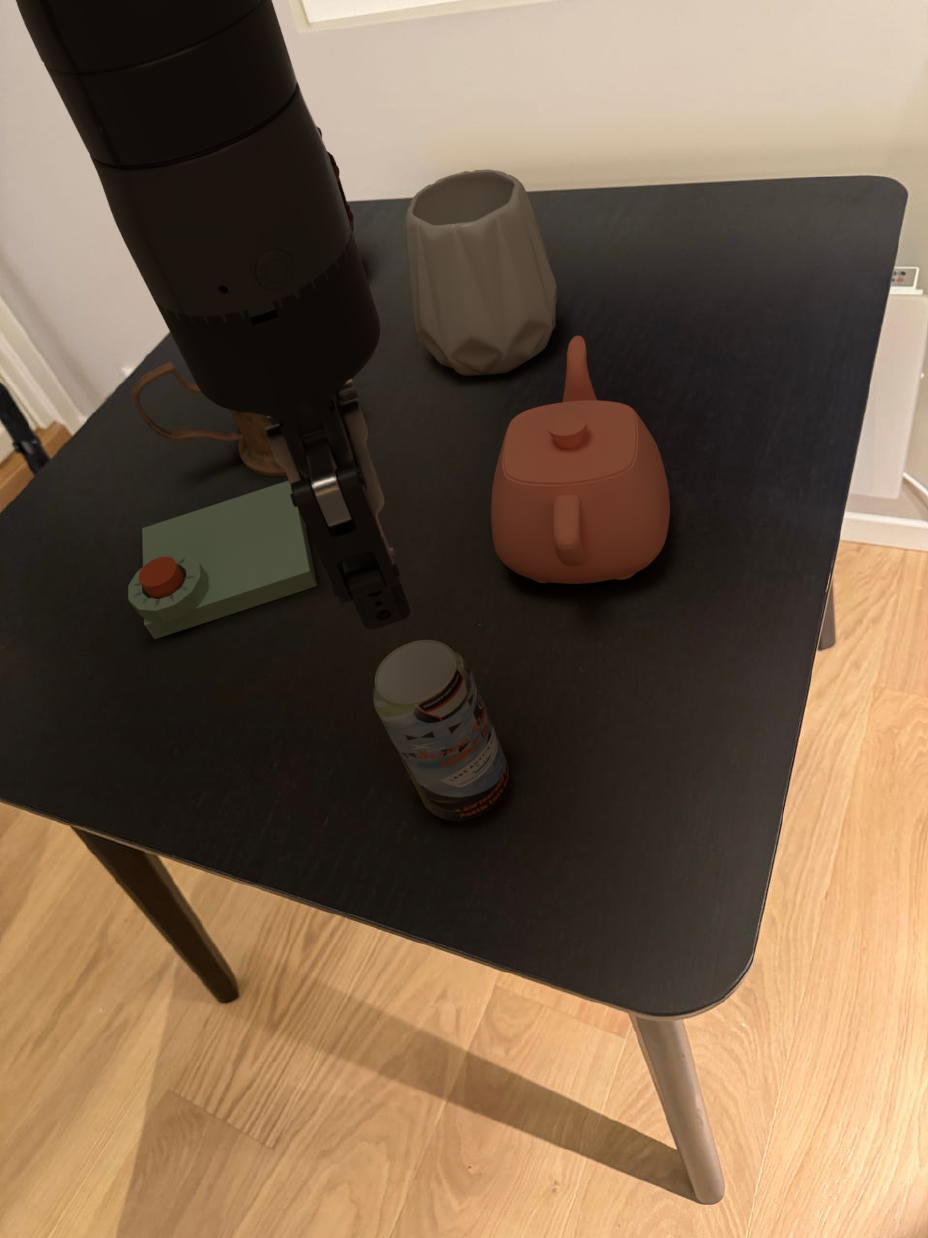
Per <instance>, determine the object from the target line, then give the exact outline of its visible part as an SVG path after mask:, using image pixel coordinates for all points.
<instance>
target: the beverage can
mask: <svg viewBox="0 0 928 1238" xmlns="http://www.w3.org/2000/svg"><path fill="white" fill-rule="evenodd" d="M372 700H373V705H374V708H375V711H376V713H377V715H378V717H379V719H380V721H381V722H382V725H383V727H384V729H385V731H386V732H387V734H388V736H389V738H390V740H391V743H392V745H393V746H394V748H395V750H396V752H397V754H398V756H399V758H400V760H401V762H402V764H403V766H404V768H405V770H406V772H407V774H408V776H409V777H410V779H411V782H412V783H413V786H414V788H415V789H416V792H417V793H418V795H419V797H420V800H421V801H422V803H423V805H424V807H425V808H426V809H427V810H428V811H429V812H430V813H431V814H432V815H434V816H435V817H437V818H439V819H442V820H446V821H453V822H459V821H466V820H467V821H468V820H471V819H474V818H477V817H479V816H481V815H483V814H485V813H487V812H489V811H490V810H491V809H493V808H494V807H495V806H496V805H497V804H498V803H499V802H500V801H501V800H502V798H503V797H504V796H505V793H506V791H507V790H508V787H509V784H510V778H511V774H510V773H511V772H510V766H509V763H508V761H507V758H506V756H505V754H504V751H503V748H502V746H501V743H500V741H499V738H498V736H497V732H496V730H495V728H494V725H493V722H492V720H491V717H490V715H489V713H488V710H487V707H486V704H485V702H484V700H483V697H482V695H481V692H480V690H479V687H478V684H477V682H476V679H475V676H474V675H473V671H472V669H471V666H470V665H469V664H468V662H467V660H466V659H465V658H464V657H463V656H462V655H460V654H459V653H458V652H456V651H454V650H452V648H450V647H449V646H448V645H447V644H445V643H443V642H442V641H438V640H432V639H421V640H416V641H411V642H409V643H406V644H404V645H402V646H399V647H397V648H396V649H394V650H393V651H392V652H390V653H389V654H388V655H387V656H386V657H385V658H384V659H383V660H382V661H381V663H380V664H379V666H378V667H377V669H376V672H375V675H374V688H373V699H372Z"/></svg>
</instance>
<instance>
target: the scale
mask: <svg viewBox="0 0 928 1238" xmlns="http://www.w3.org/2000/svg"><path fill="white" fill-rule="evenodd" d="M291 493H292V490H291V485H290V482H289V479H288V480H286V481H283V482H279V483H276V484H274V485H270V486H267V487H264V488H261V489H257V490H255V491H252V492H249V493H246V494H243V495H239V496H237V497H233V498H230V499H228V500H224V501H222V502H217V503H215V504H212V505H209V506H206V507H203V508H200V509H197V510H194V511H191V512H188V513H184V514H181V515H178V516H175V517H173V518H169V519H165V520H163V521H160V522H157V523H154V524H151V525H148V526H144V527H142V529H141V533H142V535H141V536H142V567H141V568H140V569H138V570H137V571H136V572H135V574H134V576H133V577H132V579H131V580H130V582H129V584H128V587H127V600H128V602H129V603H130V604H131V606H132V608H133V609H134V610H135V612H136V613H137V614H138V615H139V616H141V617H142V619H143V626H144V627H145V628H146V630H147V631H148V632H149V634H150V635H151V637H152V638H153V640H157V639H160V638H162V637H163V638H164V637H166V636H169V635H171V634H175V633H178V632H181V631H184V630H187V629H191V628H193V627H197V626H200V625H203V624H205V623H209V622H212V621H215V620H218V619H221V618H224V617H227V616H231V615H234V614H236V613H239V612H242V611H246V610H248V609H251V608H255V607H256V606H257V607H258V606H261V605H263V604H267V603H270V602H274V601H276V600H279V599H282V598H285V597H288V596H292V595H294V594H297V593H301V592H304V591H306V590H310V589H312V588H315V587H318V582H317V578H316V577H317V576H316V573H315V572H316V571H315V567H314V562H313V557H312V552H311V547H310V542H309V536H308V530H307V527H306V526H305V524H304V521H303V519H302V516H301V514H300V512H299V510H298V507H294V505H293V503H292V500H291V497H290V494H291ZM159 557H170V558H172V559H174V560H175V561H176V563H177V565H178V566H179V568H180V569H181V571H182V572H183V574H184V583H183V585H182V587H181V588H180V589H178V590H177V591H176V592H174V593H173V594H172V595H170V596H167V597H164V598H161V599H156V598H152V597H151V596H149V595H148V593H147V592H146V590H145V589H144V588H143V586H142V585H141V583H140V582H139V573H140V571H141V569H142V568H143V567H144V566H145V565H146V564H147V563H149V562H150V561H152V560H154V559H156V558H159Z"/></svg>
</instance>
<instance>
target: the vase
mask: <svg viewBox="0 0 928 1238" xmlns="http://www.w3.org/2000/svg"><path fill="white" fill-rule="evenodd" d="M404 232H405V245H406V254H407V267H408V278H409V287H410V299H411V307H412V315H413V321H414V327H415V333H416V339H417V340H418V341H419V343H420V345H421V346H422V347H423V348H424V349H425V350H426V351H427V352H428V353H429V354H430V355H431V356H433V357H434V358H435V360H436V361H437V362H438V363H439V364H441V365H442V366H445V367H448V368H451V369H453V371H455V372H456V373H457V374H459V375H461V376H464V377H470V376H471V377H472V376H475V377H476V376H487V375H501V374H507V373H509V372H511V371H513V370H515V369H517V368H518V367H520V366H521V365H522V364H523V365H524V364H525V363H526V362H528V361H529V360H532V359H533V358H534V357H536V356H537V355H538V354H540V353H541V352H542V351H544V350H545V349H546V348H547V345H548V344H549V342H550V340H551V339H550V338H551V336H552V333H553V331H554V329H555V328H556V314H557V313H556V311H557V310H556V307H557V301H558V294H557V292H558V291H557V290H558V289H557V286H558V285H557V282H556V279H555V276H554V274H553V271H552V267H551V263H550V261H549V257H548V254H547V251H546V247H545V243H544V241H543V238H542V234H541V232H540V229H539V225H538V223H537V220H536V216H535V213H534V210H533V207H532V204H531V200H530V198H529V196H528V193H527V190H526V188H525V186H524V185H523V183H522V182H521V181H520V179H518V178H517V177H515V176H514V175H511V174H507V173H506V172H503V171H502V170H501V171H500V170H494V169H474V170H473V171H469V170H465V171H461V172H458V173H455V174H451V175H448V176H445V177H442V178H439V179H437V180H436V181H435V182H434V183H432V184H428V185H426V186H424V187H423V188H421V189H420V190H418V192H416V194H415V195H414V196H413V198H412V199H411V201H410V204H409V206H408V208H407V211H406V214H405V220H404Z"/></svg>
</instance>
